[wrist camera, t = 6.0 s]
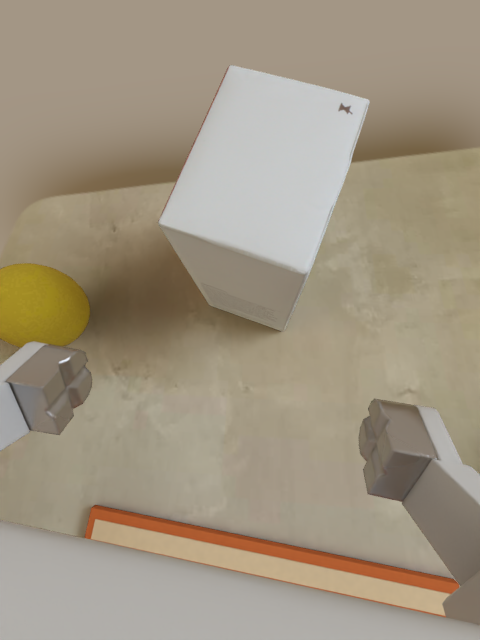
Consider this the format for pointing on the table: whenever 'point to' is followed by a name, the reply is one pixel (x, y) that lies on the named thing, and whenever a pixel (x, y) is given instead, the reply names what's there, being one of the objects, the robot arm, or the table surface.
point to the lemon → (40, 306)
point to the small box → (261, 190)
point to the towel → (272, 560)
